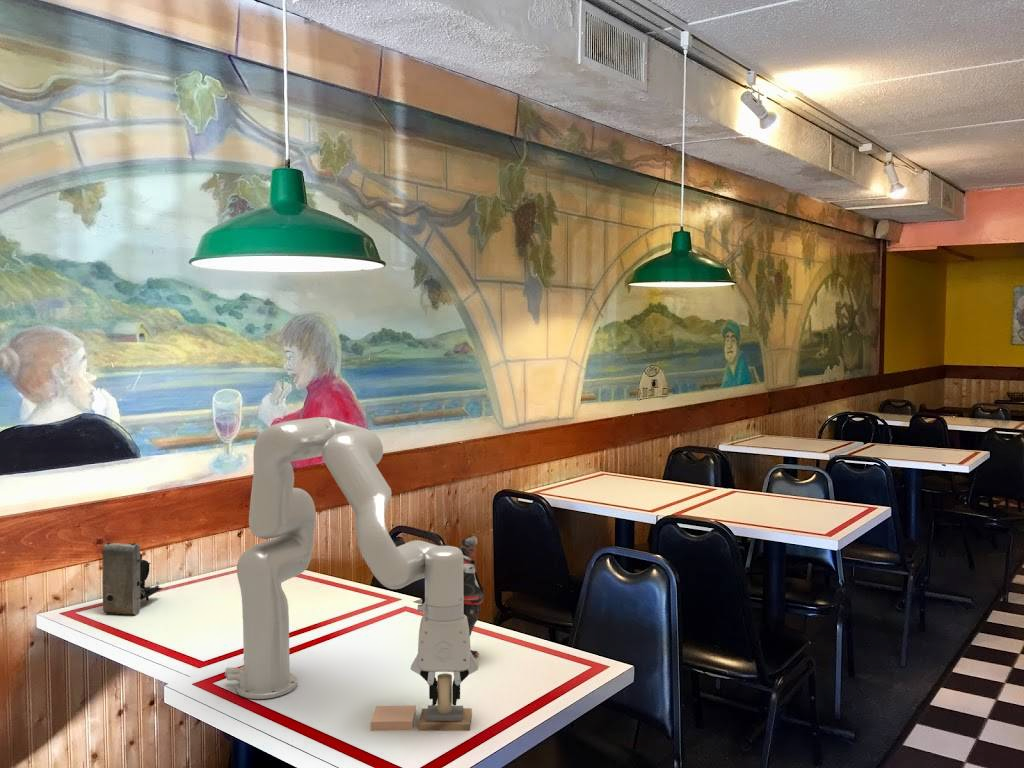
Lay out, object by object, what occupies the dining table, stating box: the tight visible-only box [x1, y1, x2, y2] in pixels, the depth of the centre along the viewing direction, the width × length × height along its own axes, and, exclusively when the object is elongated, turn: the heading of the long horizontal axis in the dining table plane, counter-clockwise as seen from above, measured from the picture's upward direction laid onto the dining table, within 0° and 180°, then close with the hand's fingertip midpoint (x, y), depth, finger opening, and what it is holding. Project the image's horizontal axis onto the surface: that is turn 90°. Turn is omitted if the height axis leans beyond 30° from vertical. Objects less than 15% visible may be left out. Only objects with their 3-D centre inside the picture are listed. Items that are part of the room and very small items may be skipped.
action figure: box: [459, 536, 486, 659], centre depth 194 cm, size 10×11×30 cm
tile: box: [370, 704, 417, 732], centre depth 165 cm, size 2×7×8 cm
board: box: [417, 707, 473, 731], centre depth 165 cm, size 10×7×1 cm
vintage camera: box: [101, 541, 163, 616], centre depth 236 cm, size 10×16×20 cm, turn 172°
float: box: [425, 672, 464, 721], centre depth 164 cm, size 7×5×8 cm
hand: (444, 701), depth 164 cm, fingers open, 3 cm apart
